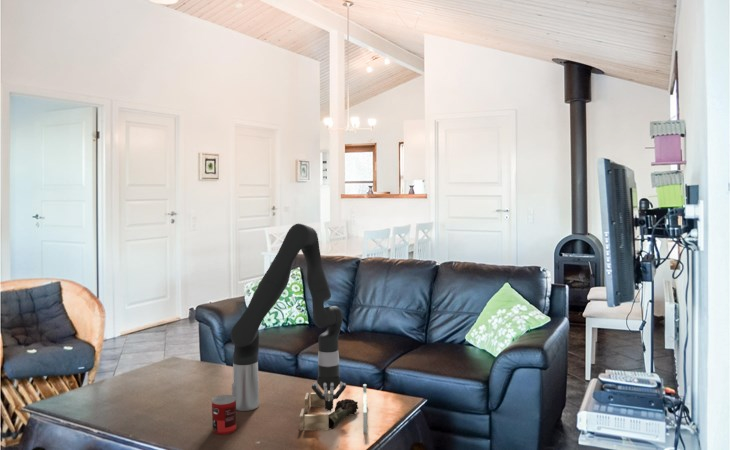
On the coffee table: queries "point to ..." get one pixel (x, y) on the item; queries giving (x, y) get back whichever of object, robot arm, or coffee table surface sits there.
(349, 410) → the dark elongated piece
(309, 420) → the socket block
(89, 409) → the coffee table surface
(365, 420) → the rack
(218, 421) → the canned food
